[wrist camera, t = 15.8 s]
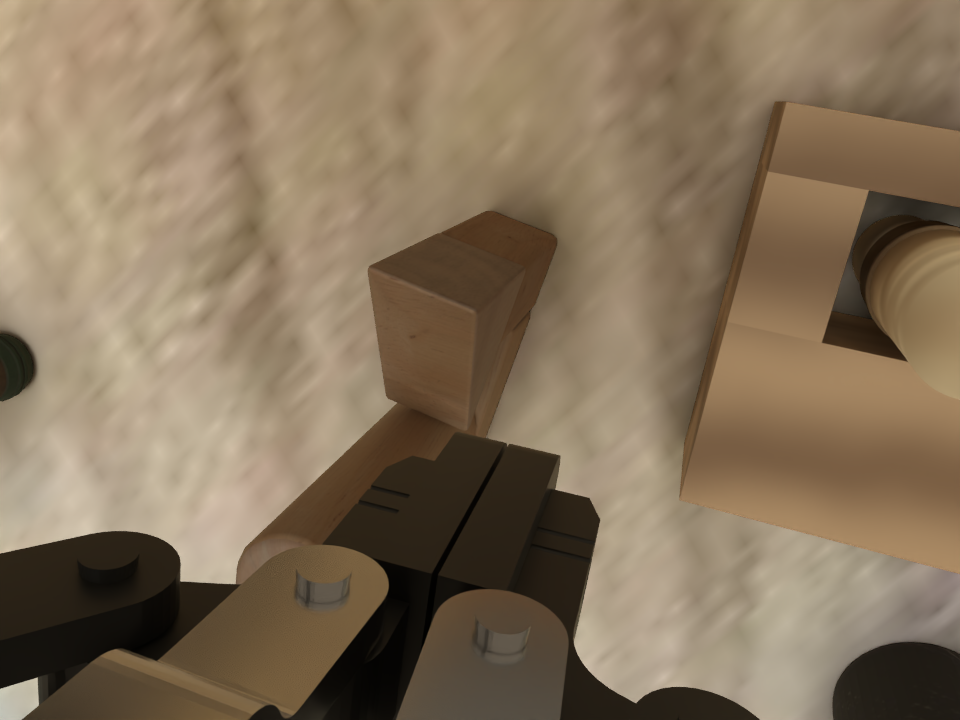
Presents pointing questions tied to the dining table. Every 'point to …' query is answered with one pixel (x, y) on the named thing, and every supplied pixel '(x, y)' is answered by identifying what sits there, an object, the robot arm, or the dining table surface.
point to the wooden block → (427, 362)
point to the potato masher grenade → (13, 367)
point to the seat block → (826, 353)
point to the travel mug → (900, 685)
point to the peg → (915, 293)
